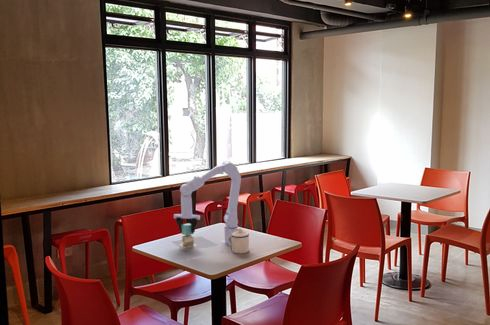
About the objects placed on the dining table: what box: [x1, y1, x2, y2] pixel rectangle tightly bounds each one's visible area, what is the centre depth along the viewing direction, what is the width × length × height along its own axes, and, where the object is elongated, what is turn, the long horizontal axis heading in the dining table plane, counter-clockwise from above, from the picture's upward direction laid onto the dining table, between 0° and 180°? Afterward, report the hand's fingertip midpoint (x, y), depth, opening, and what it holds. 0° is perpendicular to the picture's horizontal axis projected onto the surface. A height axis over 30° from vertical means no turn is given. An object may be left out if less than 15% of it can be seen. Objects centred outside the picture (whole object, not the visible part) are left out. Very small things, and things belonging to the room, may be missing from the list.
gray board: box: [171, 236, 218, 252], centre depth 247 cm, size 20×18×1 cm
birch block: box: [181, 234, 194, 247], centre depth 244 cm, size 4×4×5 cm
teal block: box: [181, 222, 195, 236], centre depth 243 cm, size 4×4×5 cm
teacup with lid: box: [229, 227, 250, 254], centre depth 234 cm, size 12×9×12 cm
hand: (187, 232), depth 244 cm, fingers closed on teal block, 6 cm apart
